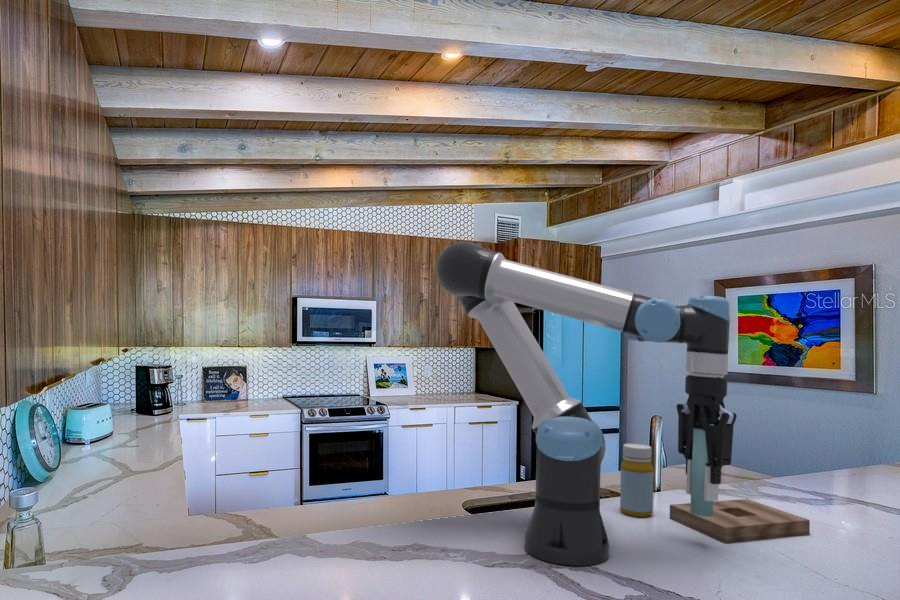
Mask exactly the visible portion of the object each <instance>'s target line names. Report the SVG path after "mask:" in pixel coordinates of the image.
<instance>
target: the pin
mask: <svg viewBox="0 0 900 600" xmlns="http://www.w3.org/2000/svg"><path fill="white" fill-rule="evenodd" d="M705 463H709V462H708V453H707V444H706V435H705V430H704V429H703V428H693V451H692V478H691V494H690V503H691V504H690V512H691V513H693V514H695V515H699V516H706V517H710V516H713V501H705V500H704V479H705V465H706V464H705Z"/></svg>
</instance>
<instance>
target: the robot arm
mask: <svg viewBox="0 0 900 600" xmlns="http://www.w3.org/2000/svg"><path fill="white" fill-rule="evenodd" d="M435 273H436V277H437V280H438V282H439V284H440V285H441V288H443V289H444V291H446V292H447V293H448V294H451V295H452V296H456V298H457V299H458V300H459V303H460V304H461V306H462V308H463V309H464V311H465V312H466V315H467V316H468V317H469V318H471V319H476V320H478V322H479V323H480V325H481V326H482V328H483V330H484V333H485V334H486V336H487V337H488V339H489V341H490V342H491V344H492V346H493V348H494V350H495V351H496V354H497V355H498V356H499V358H500V361H501V362H502V364H503V365H504V367H505V369H506V370H507V372H508V374H509V376H510V377H511V379H512V381H513V382H514V384H515V386H516V388H517V390H518V392H519V393H520V395H521V397H522V399H523V400H524V402H525V404H526V406H527V407H528V409H529V411H530V412H531V414H532V416H533V421H532V425H531V428H532V430H533V433H534V434H535V443H536V457H535V459H536V461H535V464H536V466H535V467H536V468H535V472H536V473H535V501H534V506H533V510H532V513H531V516H530V519H529V522H528V525H527V527H526V530H525V533H524V549H525V551H526V552H527V553H528V554H530V555H531V556H533V557H534V558H537V559H539V560H542V561H545V562H548V563H553V564H556V565H557V564H558V565H564V566H578V567H579V566H582V567H583V566H592V565H597V564H600V563H603V562H605V561H607V559H608V558H609V556H610V542H609V538H608V535H607V532H606V529H605V524H604V521H603V518H602V514H601V508H600V506H601V502H600V501H601V466H602V462H603V460H604V457H605V452H606V440H605V435H604V433H603V431H602V429H601V427H600V426H599V424H597V423H596V422H595V421H593V420H592V418H591V416H590V415H589V413H588V411H587V410H586V408H585V406H584V405H583V403H582V401H581V400H580V399H576V398H573V397H570V396H569V393H568V392H567V390H566V388H565V387H564V385H563V384H562V381H561V380H560V378H559V377H558V375H557V374H556V372H555V370H554V368H553V366H552V365H551V363H550V361H549V359H548V358H547V356H546V355H545V353H544V351H543V349H542V348H541V346H540V345H539V342H538V341H537V339H536V338H535V336H534V334H533V333H532V331H531V329H530V328H529V326H528V324H527V322H526V321H525V319H524V318H523V316H522V314H521V313H520V311H519V309H518V307H517V306H516V304H520V305H524V306H527V307H531V308H535V309H537V310H538V309H539V310H542V311H545V312H549V313H552V314H555V315H560V316H563V317H565V318H567V317H568V318H570V319H574V320H577V321H581V322H584V323H588V324H592V325H595V326H599V327H601V328H602V327H603V328H605V329H606V328H607V329H610V330H613V331H617V332H620V333H623V334H624V336H625V338H626V339H627V340H629V341H638V342H640V343H644V342H648V343H649V342H650V343H651V342H653V343H658V344H659V343H660V344H661V343H672V344H675V343H676V344H686V355H685V358H686V359H685V371H686V373H688V374H687V375H686V376H685V382H684V383H685V384H684V387H685V388H684V391H685V393H686V394H687V395H688V397H687V400H686V402H685V403H677V404H676V411H677V415H678V416H677V417H678V422H677V423H678V424H677V427H678V428H677V432H678V434H677V439H678V440H677V451H678V454H682V455H683V456H684V458H685V475H686V490H685V491H686V494H688V495H691V478H692V451H693V428H703V429H704V430H705V435H706V444H707V453H708V462H709V463H705V464H706V465H705V479H704V500H705V501H719V487H720V486H719V485H720V484H721V482H722V468H723V467H724V466H729V465H731V464H732V454H733V438H734V425H735V423H736V420H737V413H735V412H729V411H728V410H727V409H726V406H725V405H726V404H725V403H724V399H725V397H727V396H728V379H727V378H726V377H725V376H727V375H728V368H729V367H728V366H729V347H730V346H729V344H730V343H729V342H730V324H731V318H730V302H729V300H728V299H727V298H725V297H724V296H723V297H722V296H717V295H716V296H715V295H695V296H693V295H692V296H690V297H689V299H688V302H687V303H686V304H685V305H675V304H674V303H672V302H671V301H669V300H667V299H664V298H660V297H650V296H646V295H642V294H636V293H634V292H631V291H628V290H623V289H619V288H615V287H611V286H608V285H604V284H599V283H596V282H593V281H588V280H584V279H581V278H578V277H577V278H576V277H574V276H570V275H566V274H562V273H559V272H554V271H550V270H547V269H543V268H539V267H536V266H535V267H534V266H532V265H529V264H524V263H521V262H516V261H512V260H509V259H506V258H505V256H504V254H503V253H502V252H499V251H494V250H491V249H489V248H485V247H483V246H480V245H479V244H476V243H474V242H472V241H465V240H464V241H457V242H453V243H452V244H450V245H447V246H446V247H445V248H444V249H443V250H442V251H441V253H440V254H439V256H438V258H437V261H436V265H435ZM515 303H516V304H515Z"/></svg>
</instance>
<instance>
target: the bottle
mask: <svg viewBox="0 0 900 600" xmlns="http://www.w3.org/2000/svg"><path fill="white" fill-rule="evenodd" d="M622 447H623V448H622V459H623V460H622V462H621V465H620V496H619V497H620V499H619V509H620V511H621V512H622V513H623V514H624V515H626V516H629V517H633V518H648V517H650V516H651V515H652V514H653V513H654V466H653V463H652V446H650V445H647V444H643V443H624V444H623V446H622Z"/></svg>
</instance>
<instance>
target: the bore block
mask: <svg viewBox="0 0 900 600" xmlns="http://www.w3.org/2000/svg"><path fill="white" fill-rule="evenodd" d="M690 504H691V502H687V503H673V504H669V519H670V520H672V521H673V522H676V523H679V524H681V525H683V526H686V527H688V528H691V529H692V530H695V531H697V532H699V533H702V534H704V535H705V536H708V537H711V538H712V539H715V540H717V541H719V542H720V543H721V542H722V543H724V544H731V543H732V544H733V543H744V542H752V541H762V540H773V539H781V538H782V539H783V538H791V537H800V536H801V537H802V536H810V529H811V527H810V523H811V522H810V519H807V518H804V517H802V516H798V515H796V514H792V513H789V512H787V511H784V510H781V509H778V508H776V507H772V506H769V505H767V504H763V503H760V502H757V501H755V500H752V499H748V498H742V499H731V500H718V501H713V516H710V517H706V516H699V515H695V514H693V513H691V512H690Z"/></svg>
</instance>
